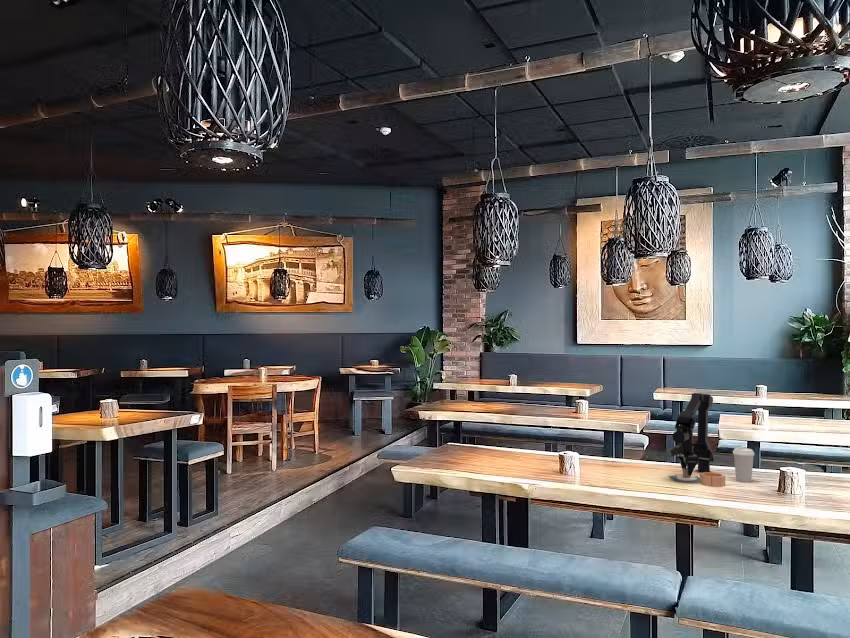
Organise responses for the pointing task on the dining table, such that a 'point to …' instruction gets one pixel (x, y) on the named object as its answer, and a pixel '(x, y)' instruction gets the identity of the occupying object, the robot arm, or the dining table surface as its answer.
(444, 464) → the dining table surface
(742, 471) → the coffee cup
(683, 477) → the lid
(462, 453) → the dining table surface
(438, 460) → the dining table surface
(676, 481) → the trivet
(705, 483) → the bowl
